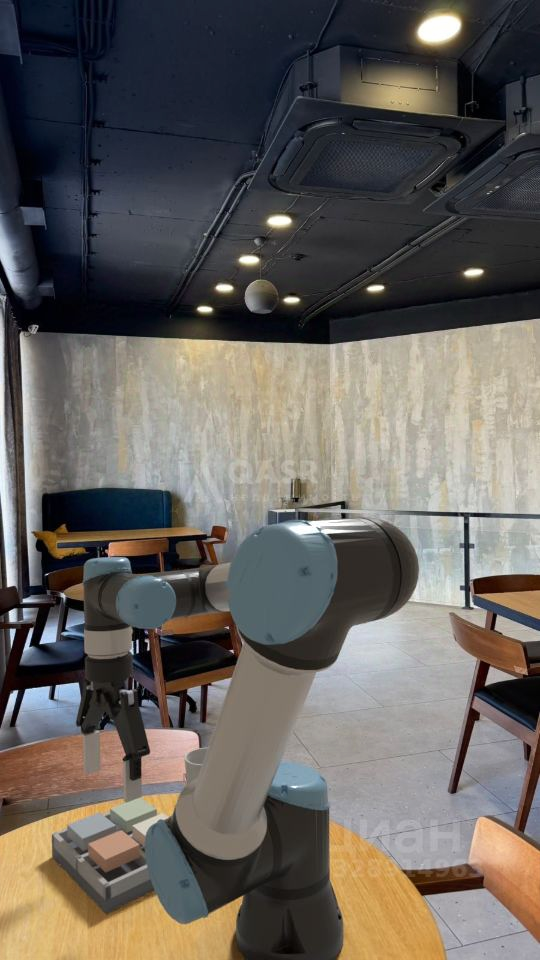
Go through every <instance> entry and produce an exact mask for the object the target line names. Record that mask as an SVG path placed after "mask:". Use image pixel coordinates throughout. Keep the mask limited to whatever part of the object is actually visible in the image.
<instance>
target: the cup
mask: <svg viewBox="0 0 540 960" xmlns="http://www.w3.org/2000/svg"><path fill="white" fill-rule="evenodd" d="M207 749H208V747H200V748H195V749H193V750H190V751H188V752H186V753H185V755H184V757H183V758H184V767H185V776H186V785H187V784H188V783H190V782H191V781H193V780H194V779H196V778H198V776H199V773H200V770H201V767H202V764H203V761H204V758H205V755H206V752H207Z"/></svg>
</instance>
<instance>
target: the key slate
mask: <svg viewBox="0 0 540 960" xmlns="http://www.w3.org/2000/svg"><path fill="white" fill-rule="evenodd" d="M102 814H103V813H102V812H96V813H95V814H91V815H89V816H86V817H84V818H81V819H78V820H76V821H73V822H71V823H68V824H67V827H66V828H67V836H68V837H69V838H70V839H71V840H72V841H73V842H74V843H75V844H76V845H77V846H78V847H79V848H80V849H81V850H82V851H84V850H87V849H88V844H89V843H91V842H94V841H96V840H98V839H101V838H103V837H106V836H108V835H111V834H113V833H116V825H115V824H114V823H112V822H111V821H110V820H109V819H107V818H106V817H105V816H104V815H102Z"/></svg>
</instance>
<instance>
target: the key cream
mask: <svg viewBox="0 0 540 960" xmlns="http://www.w3.org/2000/svg"><path fill="white" fill-rule="evenodd" d="M158 814H159V815H157V816H154V817H152V818H150V819H147V820H145V821H142V822H140V823H137V824H135V825H133V826H132V838H134V839H135V840H136V841H137V842H139V843H140V844H141V845H142V846H144V847H145V836H146V832H147V830H148V828H149V827H150V826H151V825H153V824H155V823H157V821H158V820H160V819H162V820H165V819H167V818H169V817H170V816H167V815H166V814H165V813H158Z"/></svg>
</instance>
